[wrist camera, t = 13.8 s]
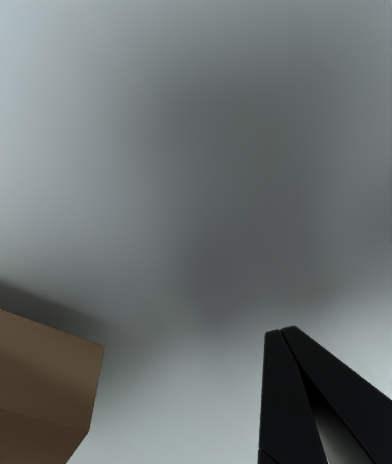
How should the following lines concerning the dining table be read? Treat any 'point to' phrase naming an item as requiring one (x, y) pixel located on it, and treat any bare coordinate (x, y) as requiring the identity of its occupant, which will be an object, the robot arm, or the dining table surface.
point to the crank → (44, 391)
